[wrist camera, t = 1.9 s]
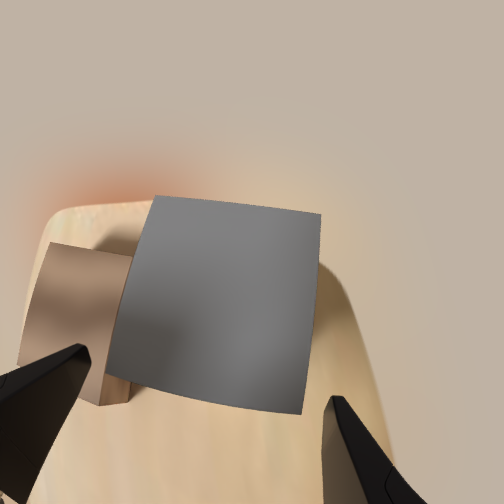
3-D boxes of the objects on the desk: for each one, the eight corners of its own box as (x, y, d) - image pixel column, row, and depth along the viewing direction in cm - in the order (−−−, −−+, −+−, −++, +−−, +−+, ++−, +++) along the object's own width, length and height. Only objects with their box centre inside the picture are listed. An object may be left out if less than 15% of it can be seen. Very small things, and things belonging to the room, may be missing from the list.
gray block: (288, 404, 12) (301, 414, 9) (142, 375, 13) (105, 373, 9) (306, 253, 16) (321, 214, 12) (175, 235, 16) (155, 195, 12)
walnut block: (127, 402, 18) (98, 406, 14) (50, 370, 18) (16, 364, 14) (154, 279, 22) (132, 256, 18) (77, 264, 22) (50, 242, 18)
